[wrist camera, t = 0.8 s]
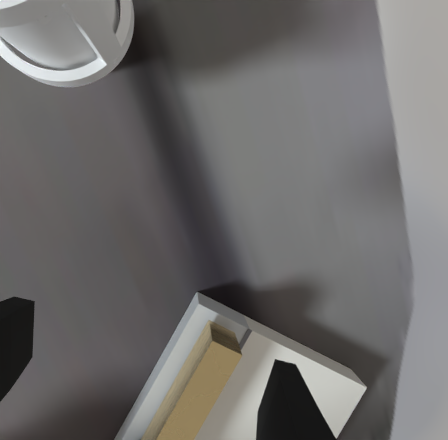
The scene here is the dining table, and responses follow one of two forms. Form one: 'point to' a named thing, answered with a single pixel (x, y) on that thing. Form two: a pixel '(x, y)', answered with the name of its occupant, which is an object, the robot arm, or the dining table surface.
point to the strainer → (66, 38)
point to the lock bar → (196, 385)
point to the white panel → (243, 376)
